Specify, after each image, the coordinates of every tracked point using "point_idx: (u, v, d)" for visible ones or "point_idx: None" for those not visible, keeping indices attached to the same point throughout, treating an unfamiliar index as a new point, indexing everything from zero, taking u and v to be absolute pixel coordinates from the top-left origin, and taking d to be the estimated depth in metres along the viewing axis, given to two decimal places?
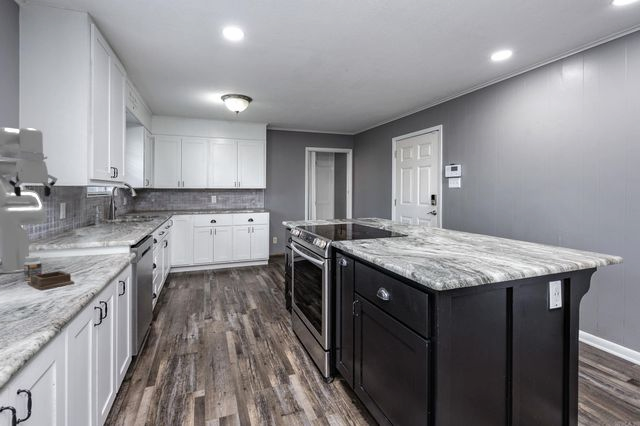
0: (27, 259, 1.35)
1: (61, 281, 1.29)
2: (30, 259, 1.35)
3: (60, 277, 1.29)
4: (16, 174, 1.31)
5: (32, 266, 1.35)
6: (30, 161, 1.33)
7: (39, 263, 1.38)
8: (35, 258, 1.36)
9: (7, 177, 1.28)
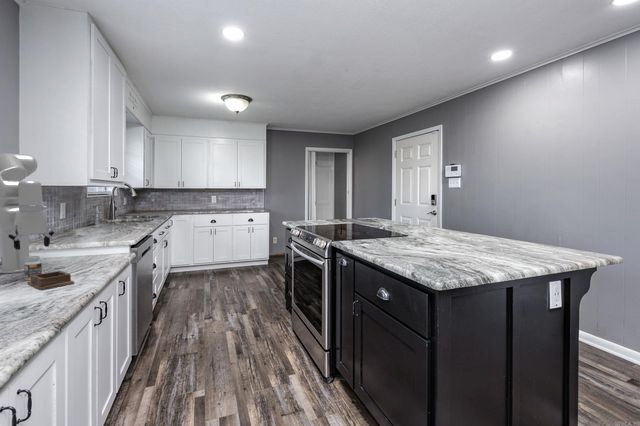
0: (27, 259, 1.35)
1: (61, 281, 1.29)
2: (30, 259, 1.35)
3: (60, 277, 1.29)
4: (15, 228, 1.31)
5: (32, 266, 1.35)
6: (29, 214, 1.33)
7: (39, 263, 1.38)
8: (35, 258, 1.36)
9: (6, 232, 1.29)
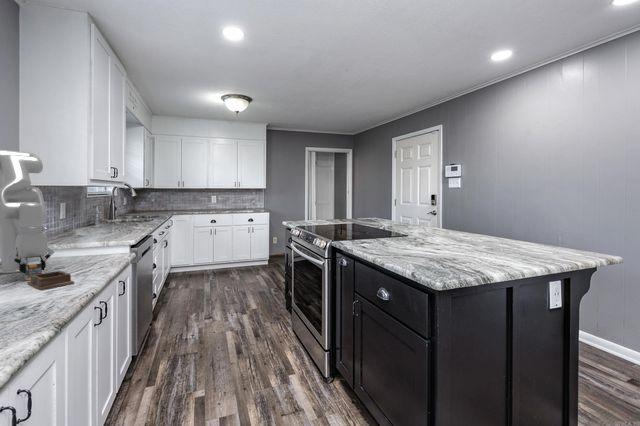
0: (27, 259, 1.35)
1: (61, 281, 1.29)
2: (30, 259, 1.35)
3: (60, 277, 1.29)
4: (17, 251, 1.32)
5: (32, 266, 1.35)
6: (30, 236, 1.34)
7: (39, 263, 1.38)
8: (35, 258, 1.36)
9: (11, 257, 1.31)
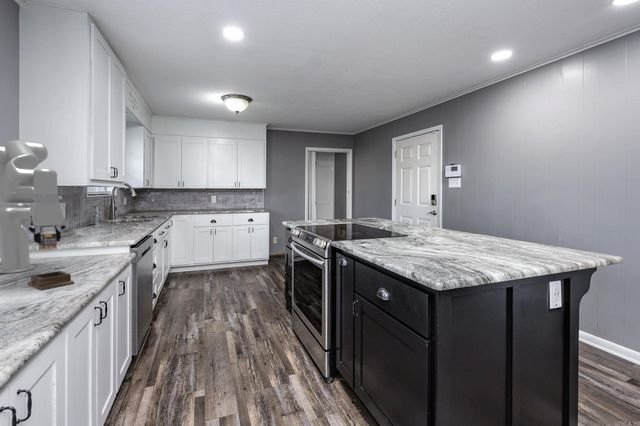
0: (42, 228, 1.28)
1: (61, 281, 1.29)
2: (45, 228, 1.28)
3: (60, 277, 1.29)
4: (32, 219, 1.25)
5: (47, 235, 1.28)
6: (45, 204, 1.27)
7: (54, 233, 1.30)
8: (50, 227, 1.29)
9: (25, 225, 1.23)
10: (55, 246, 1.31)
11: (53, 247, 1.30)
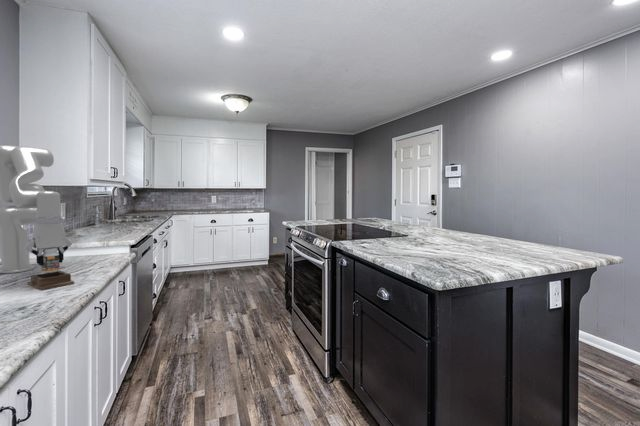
0: (45, 250, 1.27)
1: (61, 281, 1.29)
2: (48, 250, 1.28)
3: (60, 277, 1.29)
4: (35, 242, 1.25)
5: (50, 258, 1.28)
6: (48, 226, 1.27)
7: (57, 255, 1.30)
8: (53, 249, 1.29)
9: (28, 248, 1.23)
10: (58, 268, 1.31)
11: (56, 268, 1.30)
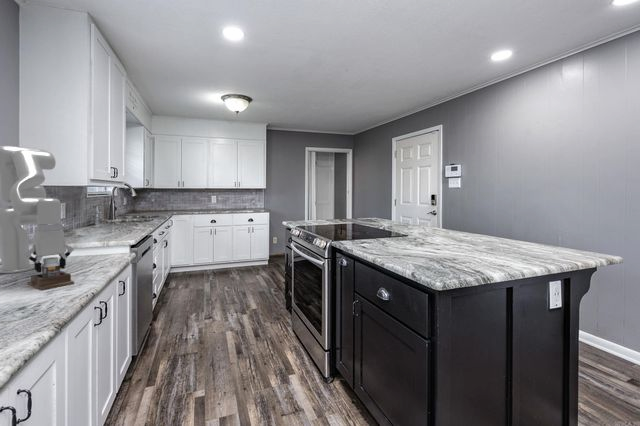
0: (45, 261, 1.28)
1: (61, 281, 1.29)
2: (48, 261, 1.28)
3: (60, 277, 1.29)
4: (34, 249, 1.25)
5: (51, 268, 1.28)
6: (48, 233, 1.27)
7: (58, 265, 1.31)
8: (53, 260, 1.29)
9: (26, 255, 1.23)
10: None
11: None
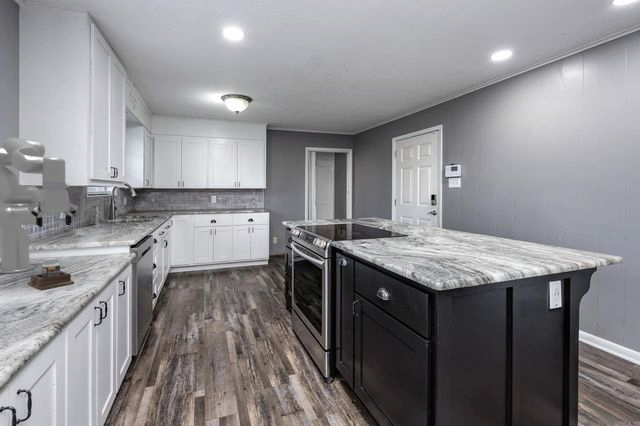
0: (45, 261, 1.28)
1: (61, 281, 1.29)
2: (48, 261, 1.28)
3: (60, 277, 1.29)
4: (38, 204, 1.29)
5: (51, 268, 1.28)
6: (52, 191, 1.31)
7: (58, 265, 1.31)
8: (54, 260, 1.29)
9: (29, 208, 1.27)
10: None
11: None
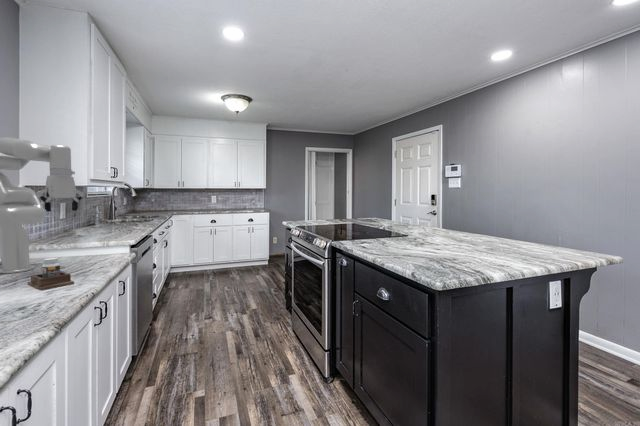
0: (45, 261, 1.28)
1: (61, 281, 1.29)
2: (48, 261, 1.28)
3: (60, 277, 1.29)
4: (46, 190, 1.35)
5: (51, 268, 1.28)
6: (60, 177, 1.37)
7: (58, 265, 1.31)
8: (54, 260, 1.29)
9: (38, 193, 1.33)
10: None
11: None
